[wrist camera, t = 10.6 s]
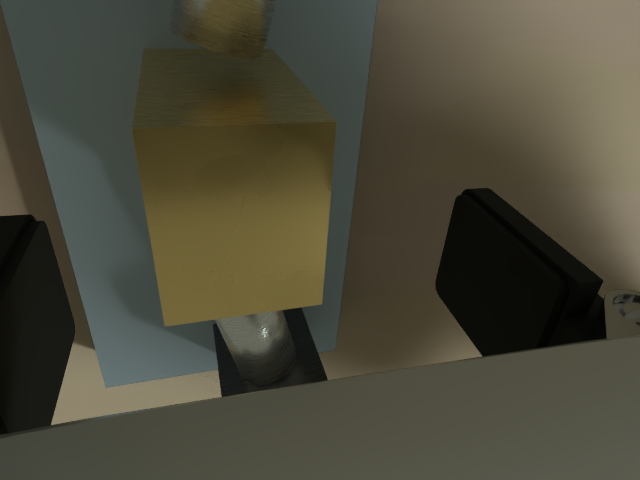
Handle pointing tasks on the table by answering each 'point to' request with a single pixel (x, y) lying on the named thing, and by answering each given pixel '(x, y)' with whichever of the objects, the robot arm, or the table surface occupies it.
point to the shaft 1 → (224, 25)
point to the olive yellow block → (232, 183)
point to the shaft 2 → (266, 352)
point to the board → (122, 168)
